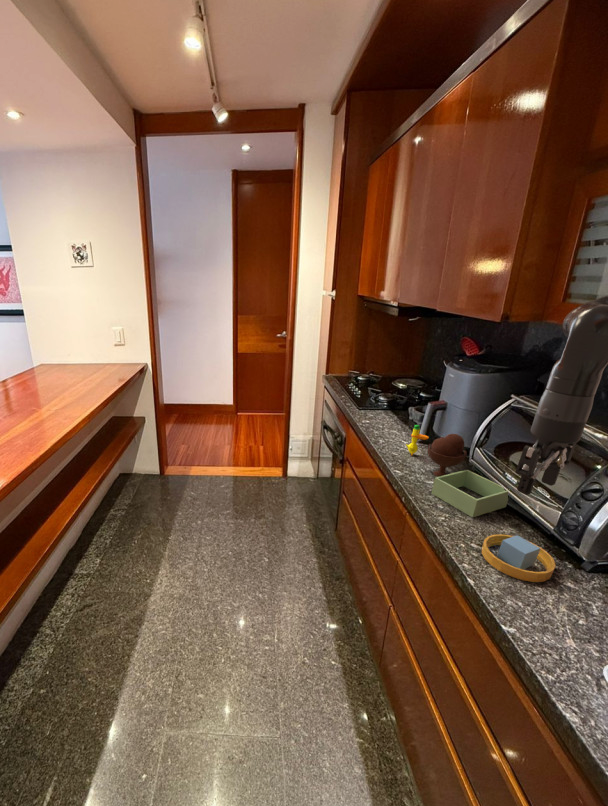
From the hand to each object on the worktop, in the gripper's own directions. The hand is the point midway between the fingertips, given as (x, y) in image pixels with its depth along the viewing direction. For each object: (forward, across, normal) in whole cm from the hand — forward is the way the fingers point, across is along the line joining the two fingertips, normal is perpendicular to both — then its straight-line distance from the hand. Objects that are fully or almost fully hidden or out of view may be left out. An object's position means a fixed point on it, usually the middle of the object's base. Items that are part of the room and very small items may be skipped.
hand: (535, 488), depth 79 cm
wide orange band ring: (+20, +2, 0) cm, 20 cm away
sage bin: (+20, +16, +21) cm, 33 cm away
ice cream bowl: (+20, +23, +35) cm, 46 cm away
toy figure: (+20, +27, +48) cm, 59 cm away
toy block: (+20, +2, 0) cm, 20 cm away
